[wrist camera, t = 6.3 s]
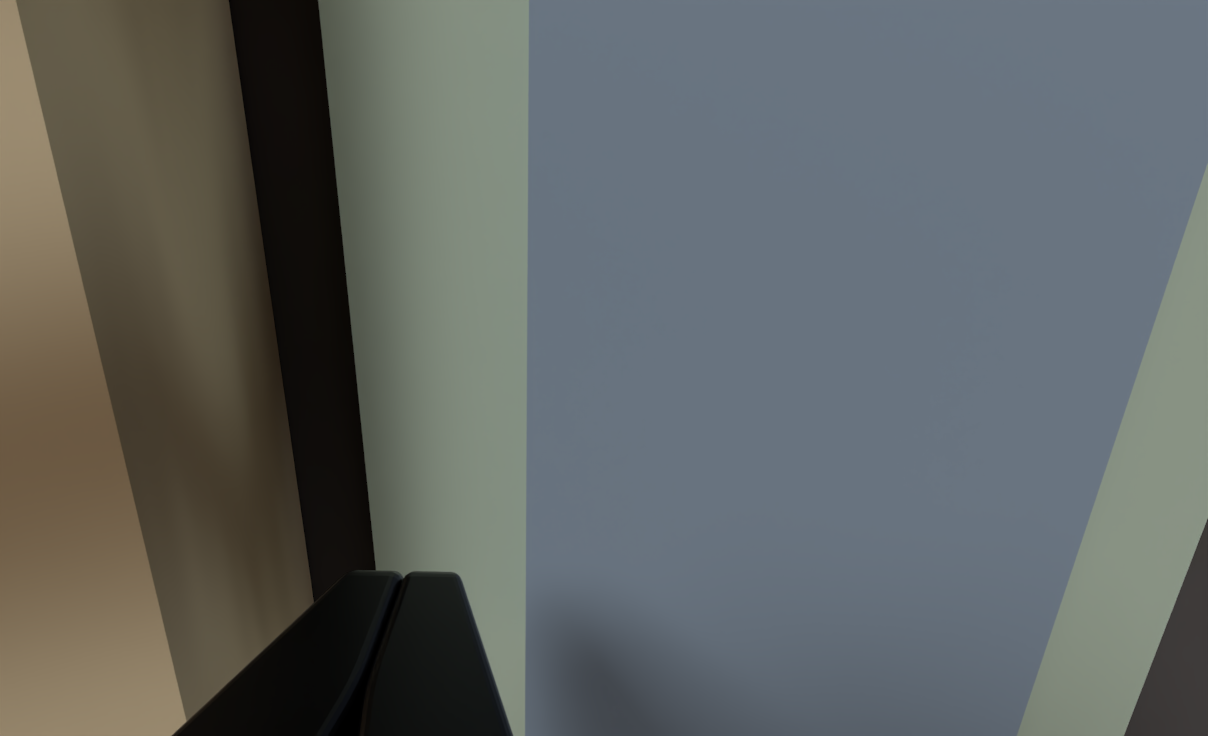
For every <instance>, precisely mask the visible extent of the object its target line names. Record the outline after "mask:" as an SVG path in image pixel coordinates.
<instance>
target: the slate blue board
mask: <svg viewBox="0 0 1208 736" xmlns="http://www.w3.org/2000/svg"><path fill="white" fill-rule="evenodd" d="M1207 163H1208V0H529V92H528V274H527V456H526V637H525V736H1017V734H1018V731H1019V728H1020V725H1021V722H1022V719H1023V716H1024V713H1025V710H1026V707H1027V704H1028V701H1029V698H1030V695H1031V692H1032V689H1033V686H1034V683H1035V680H1036V677H1037V674H1038V671H1039V668H1040V665H1041V662H1042V659H1043V656H1044V653H1045V650H1046V647H1047V644H1048V641H1049V638H1050V635H1051V632H1052V629H1053V626H1054V623H1055V620H1056V617H1057V614H1058V611H1059V608H1060V605H1061V602H1062V599H1063V596H1064V593H1065V590H1066V587H1067V584H1068V581H1069V578H1070V575H1071V572H1072V569H1073V566H1074V563H1075V560H1076V557H1077V554H1078V551H1079V548H1080V545H1081V542H1082V539H1083V536H1084V533H1085V530H1086V527H1087V524H1088V521H1089V518H1090V515H1091V512H1092V509H1093V506H1094V503H1095V500H1096V497H1097V494H1098V491H1099V488H1100V485H1101V482H1102V479H1103V476H1104V473H1105V470H1106V467H1107V464H1108V461H1109V458H1110V455H1111V452H1112V449H1113V446H1114V443H1115V440H1116V437H1117V434H1118V431H1119V428H1120V425H1121V422H1122V419H1123V416H1124V413H1125V410H1126V407H1127V404H1128V401H1129V398H1130V395H1131V392H1132V389H1133V386H1134V383H1135V380H1136V377H1137V374H1138V371H1139V368H1140V365H1141V362H1142V359H1143V356H1144V353H1145V350H1146V347H1147V344H1148V341H1149V338H1150V335H1151V332H1152V329H1153V326H1154V323H1155V320H1156V317H1157V314H1158V311H1159V308H1160V305H1161V302H1162V299H1163V296H1164V293H1165V289H1166V286H1167V284H1168V281H1169V278H1170V275H1171V271H1172V268H1173V265H1174V262H1175V259H1176V257H1177V253H1178V250H1179V247H1180V244H1181V241H1182V238H1183V235H1184V232H1185V229H1186V226H1187V223H1188V220H1189V217H1190V214H1191V211H1192V208H1193V205H1194V202H1195V199H1196V196H1197V193H1198V190H1199V187H1200V184H1201V181H1202V178H1203V175H1204V172H1205V169H1206V166H1207Z"/></svg>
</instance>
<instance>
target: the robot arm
mask: <svg viewBox="0 0 1208 736" xmlns="http://www.w3.org/2000/svg"><path fill="white" fill-rule="evenodd" d="M172 736H513V733H512V730H511V727H510V724H509V721H508V718H507V715H506V712H505V709H504V706H503V703H502V700H501V697H500V694H499V691H498V688H497V685H496V682H495V679H494V676H493V673H492V670H491V667H490V664H489V661H488V658H487V655H486V652H485V649H484V646H483V643H482V640H481V637H480V634H479V631H478V628H477V624H476V621H475V618H474V615H473V612H472V609H471V606H470V603H469V600H468V597H467V594H466V591H465V588H464V585H463V582H462V579H461V577H460V576H459V575H458V574H456V573H455V572H439V571H412V572H410V573H408V574H407V575H405V577H403V576H402V575H401V574H400V573H399V572H397V571H381V570H355V571H350V572H348V573H346V574H345V575H343V576H342V577H341V578H340V579H339V580H338V581H337V582H336V583H334V584H333V585H332V586H331V587H330V588H329V589H328V590H327V591H326V592H325V593H324V594H323V595H322V596H321V597H319V598H318V599H317V600H316V601H315V602H314V603H313V604H312V605H311V606H310V607H309V608H308V609H307V610H306V611H304V612H303V613H302V614H301V615H300V616H299V617H298V618H297V619H296V620H295V621H294V622H293V623H292V624H291V625H289V626H288V627H287V628H286V629H285V630H284V631H283V632H282V633H281V634H280V635H279V636H278V637H277V638H276V639H274V640H273V641H272V642H271V643H270V644H269V645H268V646H267V647H266V648H265V649H264V650H263V651H262V652H261V653H259V654H258V655H257V656H256V657H255V658H254V659H253V660H252V661H251V662H250V663H249V664H248V665H247V666H246V667H244V668H243V669H242V670H241V671H240V672H239V673H238V674H237V675H236V676H235V677H234V678H233V679H232V680H231V681H229V682H228V683H227V684H226V685H225V686H224V687H223V688H222V689H221V690H220V691H219V692H218V693H217V694H215V695H214V696H213V697H212V698H211V699H210V700H209V701H208V702H207V703H206V704H205V705H204V706H203V707H202V708H200V709H199V710H198V711H197V712H196V713H195V714H194V715H193V716H192V717H191V718H190V719H189V720H188V721H187V722H185V723H184V724H183V725H182V726H181V727H180V728H179V729H178V730H177V731H176V732H175V733H174V734H173V735H172Z"/></svg>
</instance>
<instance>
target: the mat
mask: <svg viewBox="0 0 1208 736" xmlns="http://www.w3.org/2000/svg"><path fill="white" fill-rule="evenodd" d="M318 4H319V14H320V24H321V33H322V43H323V53H324V63H325V73H326V83H327V92H328V102H329V112H330V122H331V132H332V142H333V152H334V161H335V171H336V181H337V191H338V201H339V211H340V220H341V230H342V240H343V250H344V260H345V270H346V280H347V289H348V299H349V309H350V319H351V329H352V339H353V348H354V358H355V368H356V378H357V388H358V398H359V408H360V417H361V427H362V437H363V447H364V457H365V467H366V476H367V486H368V496H369V506H370V516H371V526H372V535H373V545H374V555H375V565H376V570H381V571H397V572H399V573H400V574H401V575H402V576H403V577H405V575H407V574H408V573H410V572H412V571H439V572H455V573H456V574H458V575H459V576H460V577H461V579H462V582H463V585H464V588H465V591H466V594H467V597H468V600H469V603H470V606H471V609H472V612H473V615H474V618H475V621H476V624H477V628H478V631H479V634H480V637H481V640H482V643H483V646H484V649H485V652H486V655H487V658H488V661H489V664H490V667H491V670H492V673H493V676H494V679H495V682H496V685H497V688H498V691H499V694H500V697H501V700H502V703H503V706H504V709H505V712H506V715H507V718H508V721H509V724H510V727H511V730H512V733H513V736H525V637H526V456H527V274H528V92H529V0H318ZM1207 519H1208V163H1207V166H1206V169H1205V172H1204V175H1203V178H1202V181H1201V184H1200V187H1199V190H1198V193H1197V196H1196V199H1195V202H1194V205H1193V208H1192V211H1191V214H1190V217H1189V220H1188V223H1187V226H1186V229H1185V232H1184V235H1183V238H1182V241H1181V244H1180V247H1179V250H1178V253H1177V257H1176V259H1175V262H1174V265H1173V268H1172V271H1171V275H1170V278H1169V281H1168V284H1167V286H1166V289H1165V293H1164V296H1163V299H1162V302H1161V305H1160V308H1159V311H1158V314H1157V317H1156V320H1155V323H1154V326H1153V329H1152V332H1151V335H1150V338H1149V341H1148V344H1147V347H1146V350H1145V353H1144V356H1143V359H1142V362H1141V365H1140V368H1139V371H1138V374H1137V377H1136V380H1135V383H1134V386H1133V389H1132V392H1131V395H1130V398H1129V401H1128V404H1127V407H1126V410H1125V413H1124V416H1123V419H1122V422H1121V425H1120V428H1119V431H1118V434H1117V437H1116V440H1115V443H1114V446H1113V449H1112V452H1111V455H1110V458H1109V461H1108V464H1107V467H1106V470H1105V473H1104V476H1103V479H1102V482H1101V485H1100V488H1099V491H1098V494H1097V497H1096V500H1095V503H1094V506H1093V509H1092V512H1091V515H1090V518H1089V521H1088V524H1087V527H1086V530H1085V533H1084V536H1083V539H1082V542H1081V545H1080V548H1079V551H1078V554H1077V557H1076V560H1075V563H1074V566H1073V569H1072V572H1071V575H1070V578H1069V581H1068V584H1067V587H1066V590H1065V593H1064V596H1063V599H1062V602H1061V605H1060V608H1059V611H1058V614H1057V617H1056V620H1055V623H1054V626H1053V629H1052V632H1051V635H1050V638H1049V641H1048V644H1047V647H1046V650H1045V653H1044V656H1043V659H1042V662H1041V665H1040V668H1039V671H1038V674H1037V677H1036V680H1035V683H1034V686H1033V689H1032V692H1031V695H1030V698H1029V701H1028V704H1027V707H1026V710H1025V713H1024V716H1023V719H1022V722H1021V725H1020V728H1019V731H1018V734H1017V736H1124V734H1125V731H1126V729H1127V726H1128V723H1129V721H1130V718H1131V716H1132V713H1133V710H1134V708H1135V705H1136V703H1137V700H1138V697H1139V695H1140V692H1141V690H1142V687H1143V685H1144V682H1145V679H1146V677H1147V674H1148V672H1149V669H1150V666H1151V664H1152V661H1153V659H1154V656H1155V653H1156V651H1157V648H1158V646H1159V643H1160V640H1161V638H1162V635H1163V633H1164V630H1165V627H1166V625H1167V622H1168V620H1169V617H1170V615H1171V612H1172V609H1173V607H1174V604H1175V602H1176V599H1177V596H1178V594H1179V591H1180V589H1181V586H1182V583H1183V581H1184V578H1185V576H1186V573H1187V570H1188V568H1189V565H1190V563H1191V560H1192V557H1193V555H1194V552H1195V550H1196V547H1197V544H1198V542H1199V539H1200V537H1201V534H1202V532H1203V529H1204V526H1205V524H1206V521H1207Z"/></svg>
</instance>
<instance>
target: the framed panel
mask: <svg viewBox="0 0 1208 736" xmlns="http://www.w3.org/2000/svg"><path fill="white" fill-rule="evenodd" d="M313 603H314V599H313V592H312V585H311V578H310V571H309V564H308V557H307V550H306V543H305V536H304V529H303V521H302V514H301V507H300V500H299V493H298V486H297V479H296V472H295V465H294V458H293V451H292V444H291V437H290V430H289V423H288V415H287V408H286V401H285V394H284V387H283V380H282V373H281V366H280V359H279V352H278V345H277V338H276V331H275V324H274V317H273V310H272V302H271V295H270V288H269V281H268V274H267V267H266V260H265V253H264V246H263V239H262V232H261V225H260V218H259V211H258V204H257V197H256V189H255V182H254V175H253V168H252V161H251V154H250V147H249V140H248V133H247V126H246V119H245V112H244V105H243V98H242V91H241V84H240V76H239V69H238V62H237V55H236V48H235V41H234V34H233V27H232V20H231V13H230V6H229V0H0V736H172V735H173V734H174V733H175V732H176V731H177V730H178V729H179V728H180V727H181V726H182V725H183V724H184V723H185V722H187V721H188V720H189V719H190V718H191V717H192V716H193V715H194V714H195V713H196V712H197V711H198V710H199V709H200V708H202V707H203V706H204V705H205V704H206V703H207V702H208V701H209V700H210V699H211V698H212V697H213V696H214V695H215V694H217V693H218V692H219V691H220V690H221V689H222V688H223V687H224V686H225V685H226V684H227V683H228V682H229V681H231V680H232V679H233V678H234V677H235V676H236V675H237V674H238V673H239V672H240V671H241V670H242V669H243V668H244V667H246V666H247V665H248V664H249V663H250V662H251V661H252V660H253V659H254V658H255V657H256V656H257V655H258V654H259V653H261V652H262V651H263V650H264V649H265V648H266V647H267V646H268V645H269V644H270V643H271V642H272V641H273V640H274V639H276V638H277V637H278V636H279V635H280V634H281V633H282V632H283V631H284V630H285V629H286V628H287V627H288V626H289V625H291V624H292V623H293V622H294V621H295V620H296V619H297V618H298V617H299V616H300V615H301V614H302V613H303V612H304V611H306V610H307V609H308V608H309V607H310V606H311V605H312V604H313Z"/></svg>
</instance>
